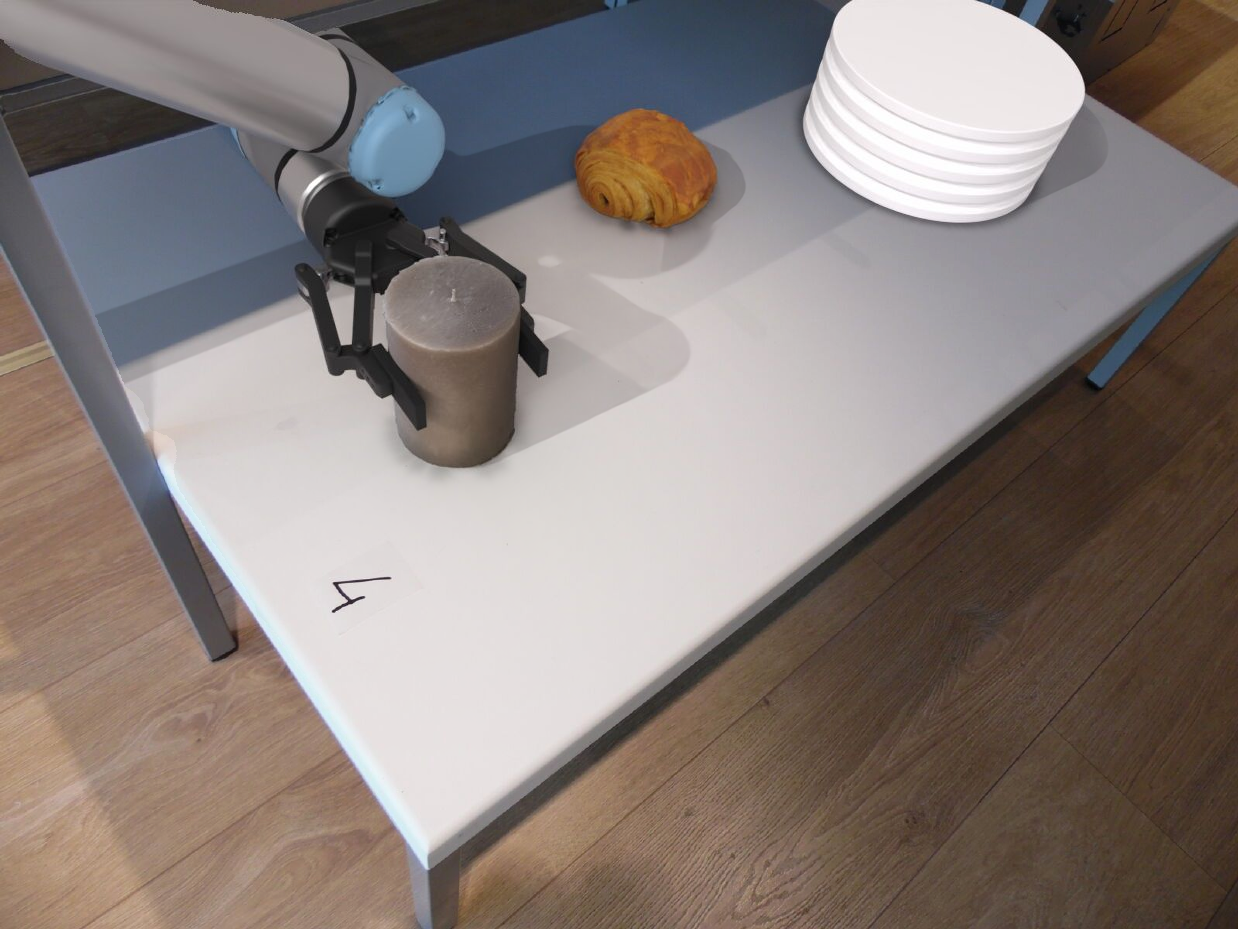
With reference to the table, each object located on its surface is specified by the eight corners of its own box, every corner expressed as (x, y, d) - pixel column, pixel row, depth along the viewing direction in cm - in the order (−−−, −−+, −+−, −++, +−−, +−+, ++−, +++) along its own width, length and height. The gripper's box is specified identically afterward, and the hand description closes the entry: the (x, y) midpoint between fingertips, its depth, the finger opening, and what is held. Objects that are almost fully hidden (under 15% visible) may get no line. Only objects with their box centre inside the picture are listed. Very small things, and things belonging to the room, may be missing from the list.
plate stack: (800, 62, 117) (827, -30, 107) (1012, 99, 118) (1058, 12, 109) (805, 199, 100) (839, 104, 91) (1053, 241, 101) (1111, 152, 92)
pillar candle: (537, 440, 75) (549, 308, 63) (429, 488, 71) (421, 356, 59) (478, 362, 79) (479, 224, 67) (373, 403, 75) (355, 264, 63)
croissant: (549, 204, 97) (545, 143, 90) (636, 127, 104) (639, 64, 97) (659, 267, 93) (664, 208, 86) (743, 182, 99) (754, 121, 92)
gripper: (461, 209, 84) (602, 368, 74) (221, 288, 74) (348, 483, 65) (461, 137, 78) (613, 301, 68) (199, 213, 68) (335, 416, 59)
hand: (484, 389), depth 67 cm, fingers closed on pillar candle, 10 cm apart
